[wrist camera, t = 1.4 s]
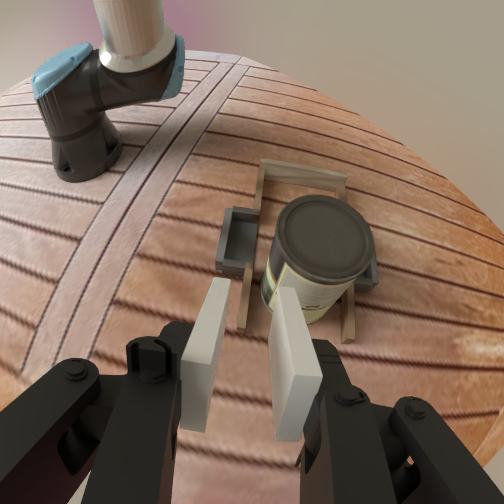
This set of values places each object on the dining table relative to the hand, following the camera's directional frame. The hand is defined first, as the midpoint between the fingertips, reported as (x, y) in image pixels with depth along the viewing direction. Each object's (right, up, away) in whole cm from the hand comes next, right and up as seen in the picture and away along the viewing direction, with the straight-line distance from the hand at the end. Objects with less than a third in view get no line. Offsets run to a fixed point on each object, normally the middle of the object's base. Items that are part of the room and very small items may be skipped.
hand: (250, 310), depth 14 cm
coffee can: (+6, -3, +27) cm, 28 cm away
